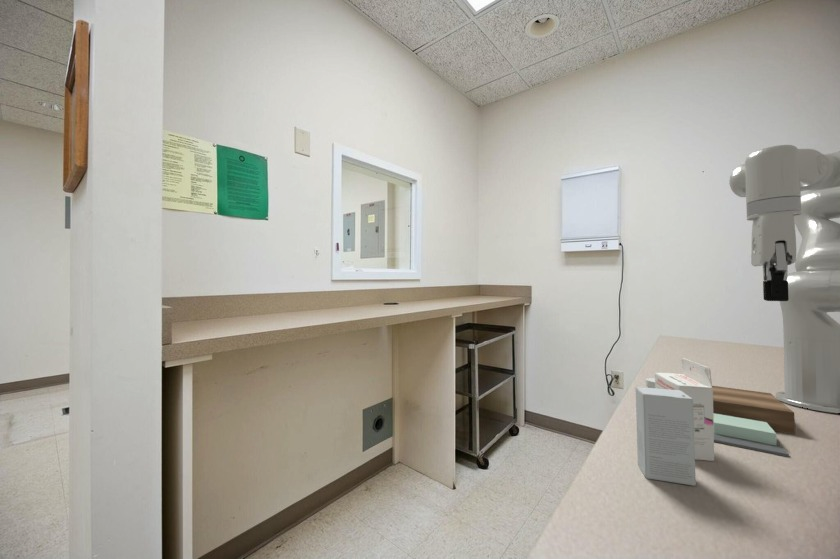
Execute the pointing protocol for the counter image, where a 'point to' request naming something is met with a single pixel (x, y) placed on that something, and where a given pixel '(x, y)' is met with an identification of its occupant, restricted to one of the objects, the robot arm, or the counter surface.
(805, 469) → the counter surface
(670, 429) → the skincare box
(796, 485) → the counter surface
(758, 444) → the mat
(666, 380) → the ink cartridge box
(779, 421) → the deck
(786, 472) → the counter surface
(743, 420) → the mint green block
